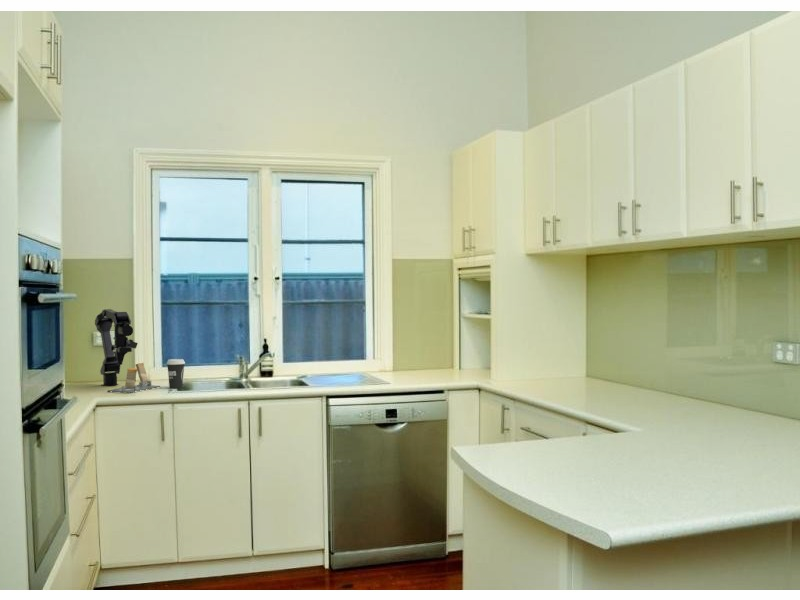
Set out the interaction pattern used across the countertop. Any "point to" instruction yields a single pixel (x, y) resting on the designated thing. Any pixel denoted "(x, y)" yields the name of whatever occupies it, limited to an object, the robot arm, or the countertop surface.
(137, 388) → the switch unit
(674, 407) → the countertop surface
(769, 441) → the countertop surface
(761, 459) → the countertop surface
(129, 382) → the lever
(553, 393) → the countertop surface
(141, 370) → the lever
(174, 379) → the coffee cup
